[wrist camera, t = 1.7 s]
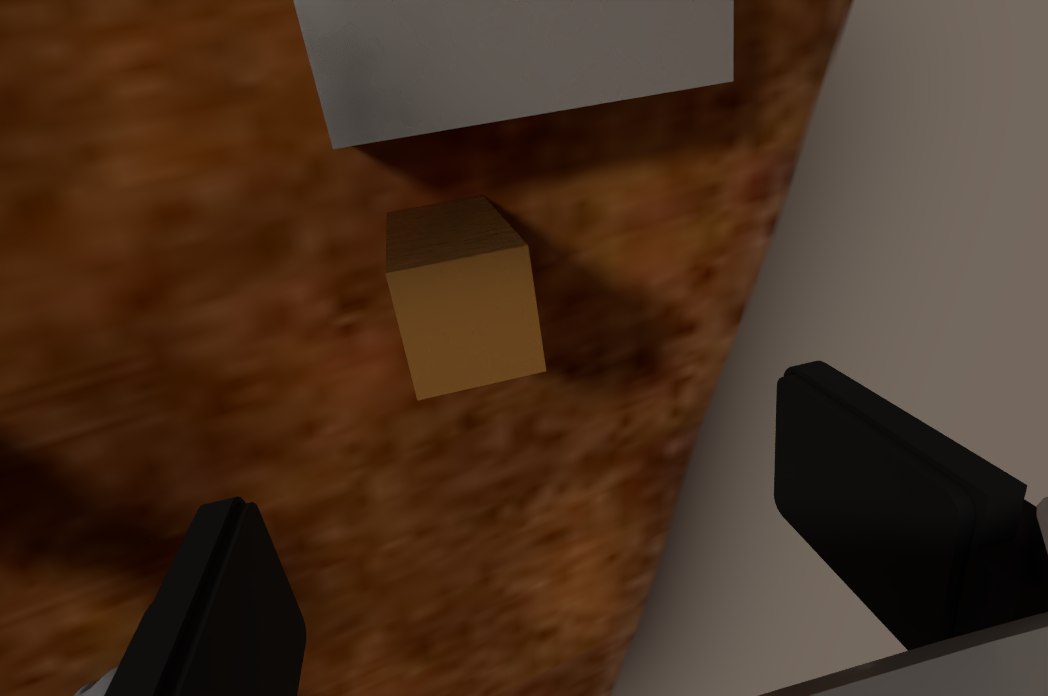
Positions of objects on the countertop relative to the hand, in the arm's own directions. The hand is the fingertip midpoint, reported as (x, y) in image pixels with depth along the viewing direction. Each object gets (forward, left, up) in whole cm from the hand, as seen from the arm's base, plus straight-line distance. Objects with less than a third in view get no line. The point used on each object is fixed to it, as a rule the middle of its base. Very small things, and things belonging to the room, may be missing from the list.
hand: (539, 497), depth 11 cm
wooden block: (0, 0, -17) cm, 17 cm away
